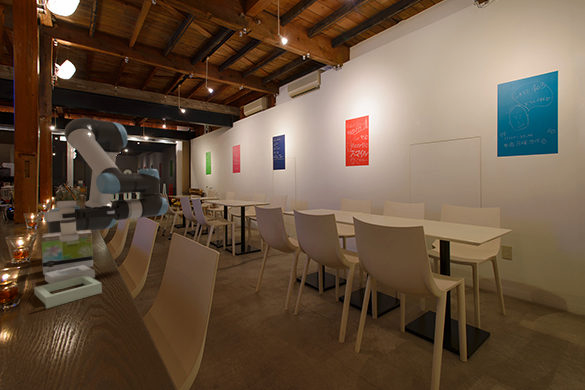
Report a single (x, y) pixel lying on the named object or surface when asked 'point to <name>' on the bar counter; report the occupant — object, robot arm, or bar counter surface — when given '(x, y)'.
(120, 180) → the robot arm
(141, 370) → the bar counter surface
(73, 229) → the fuse
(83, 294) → the parts tray
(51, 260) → the tea box
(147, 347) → the bar counter surface
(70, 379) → the bar counter surface
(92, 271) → the white square dish
